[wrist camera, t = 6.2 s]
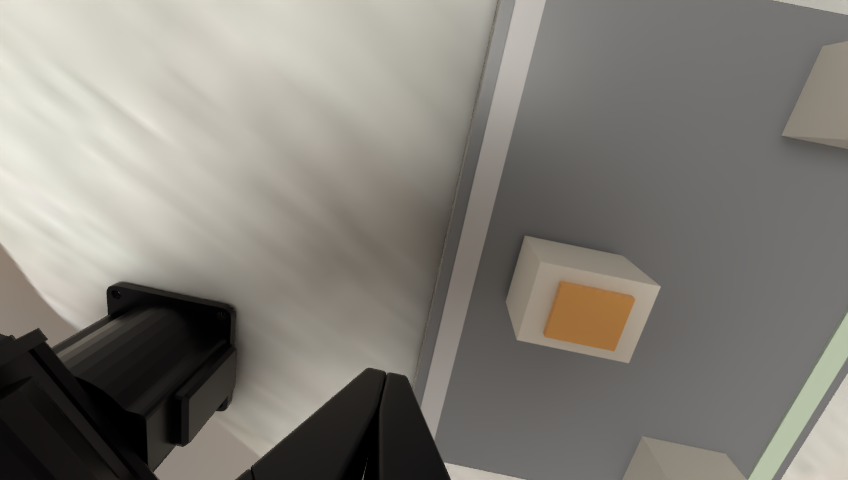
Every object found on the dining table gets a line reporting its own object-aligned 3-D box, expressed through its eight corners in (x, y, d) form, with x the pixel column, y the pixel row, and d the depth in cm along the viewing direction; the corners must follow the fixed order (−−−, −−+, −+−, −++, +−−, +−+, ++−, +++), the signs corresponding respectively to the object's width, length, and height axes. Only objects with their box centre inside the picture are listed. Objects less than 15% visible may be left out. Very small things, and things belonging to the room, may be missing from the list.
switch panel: (404, 423, 22) (391, 509, 17) (504, -30, 15) (528, -99, 10) (724, 490, 22) (801, 596, 17) (971, 62, 15) (1216, 37, 10)
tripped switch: (505, 301, 17) (518, 344, 13) (524, 235, 16) (542, 264, 12) (598, 321, 17) (632, 368, 13) (622, 255, 16) (665, 290, 12)
